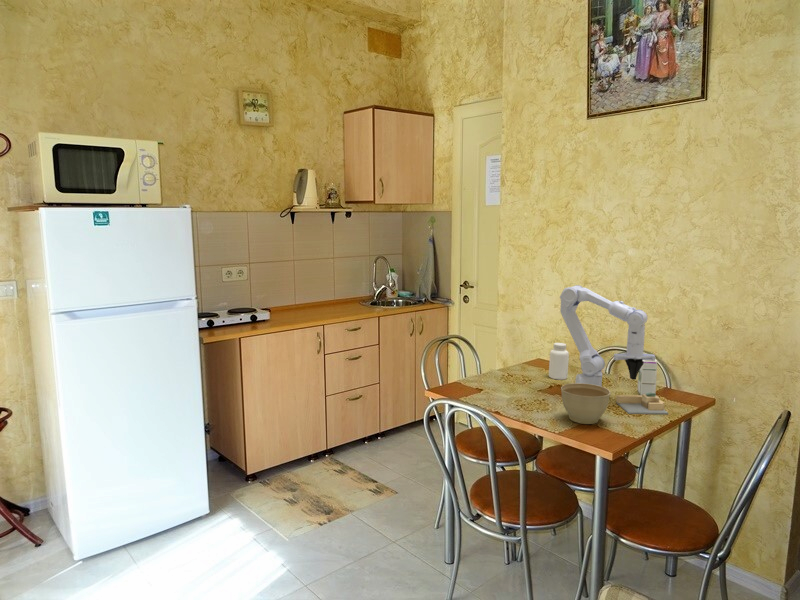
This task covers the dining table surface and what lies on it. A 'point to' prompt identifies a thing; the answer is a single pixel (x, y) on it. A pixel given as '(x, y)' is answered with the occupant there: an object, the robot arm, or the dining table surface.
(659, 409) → the wall board
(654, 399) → the cabinet block
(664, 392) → the dining table surface
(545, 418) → the dining table surface
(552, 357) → the pill bottle
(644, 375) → the syrup box
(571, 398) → the planter bowl
